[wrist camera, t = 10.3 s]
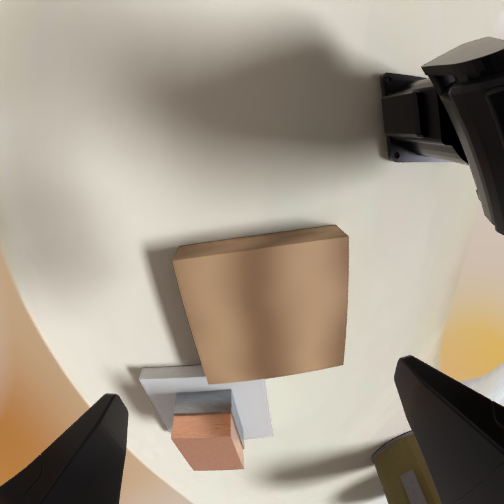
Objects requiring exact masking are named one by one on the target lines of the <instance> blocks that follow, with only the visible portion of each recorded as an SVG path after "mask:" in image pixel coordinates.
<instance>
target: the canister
mask: <svg viewBox="0 0 504 504" xmlns="http://www.w3.org/2000/svg"><path fill="white" fill-rule="evenodd" d="M372 462H373V463H374V464H375V467H376V470H377V472H378V475H379V478H380V481H381V484H382V486H383V489H384V492H385V495H386V498H387V501H388V504H441V501H440V498H439V496H438V493H437V490H436V488H435V485H434V482H433V480H432V477H431V475H430V472H429V470H428V467H427V465H426V462H425V460H424V457H423V455H422V453H421V450H420V448H419V446H418V443H417V441H416V439H415V436H414V434H413V432H412V431H410V432H408V433H405V434H403V435H401V436H398V437H397V438H395V439H393V440H391V441H390V442H388V443H387V444H385V445H384V446H382V447H381V448H380V449H379V450H378V451H377V452H375V454H374V455H373V457H372Z"/></svg>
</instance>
